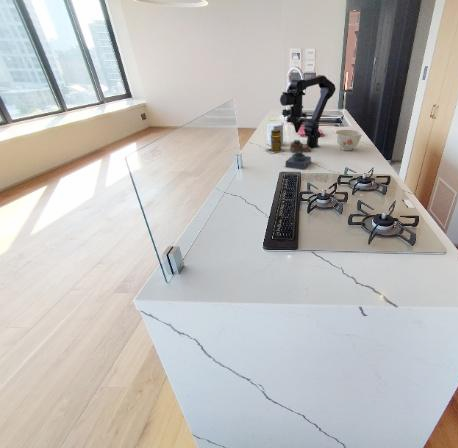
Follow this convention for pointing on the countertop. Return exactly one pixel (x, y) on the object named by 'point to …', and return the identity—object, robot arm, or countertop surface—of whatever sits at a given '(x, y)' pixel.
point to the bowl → (348, 138)
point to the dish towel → (302, 133)
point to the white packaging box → (274, 127)
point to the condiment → (275, 141)
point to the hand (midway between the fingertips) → (296, 132)
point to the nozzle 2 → (298, 153)
